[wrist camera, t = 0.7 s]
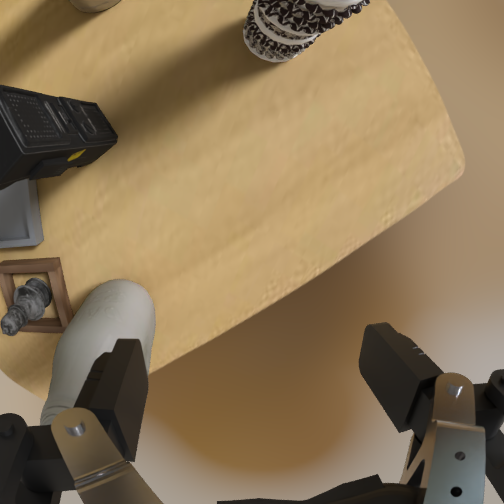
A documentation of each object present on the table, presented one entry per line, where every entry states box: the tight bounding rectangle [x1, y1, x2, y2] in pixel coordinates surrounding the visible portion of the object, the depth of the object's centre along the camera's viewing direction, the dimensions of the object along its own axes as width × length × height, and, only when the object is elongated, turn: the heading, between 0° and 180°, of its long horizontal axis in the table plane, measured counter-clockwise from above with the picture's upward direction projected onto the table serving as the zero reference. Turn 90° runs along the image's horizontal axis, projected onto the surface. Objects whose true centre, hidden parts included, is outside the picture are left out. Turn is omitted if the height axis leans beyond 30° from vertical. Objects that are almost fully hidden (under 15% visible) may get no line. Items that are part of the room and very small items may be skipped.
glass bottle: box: [40, 279, 156, 426], centre depth 31 cm, size 10×10×28 cm
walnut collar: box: [0, 257, 74, 333], centre depth 40 cm, size 11×11×2 cm
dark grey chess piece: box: [1, 278, 52, 336], centre depth 36 cm, size 6×6×12 cm
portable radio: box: [0, 85, 118, 190], centre depth 24 cm, size 8×6×25 cm
